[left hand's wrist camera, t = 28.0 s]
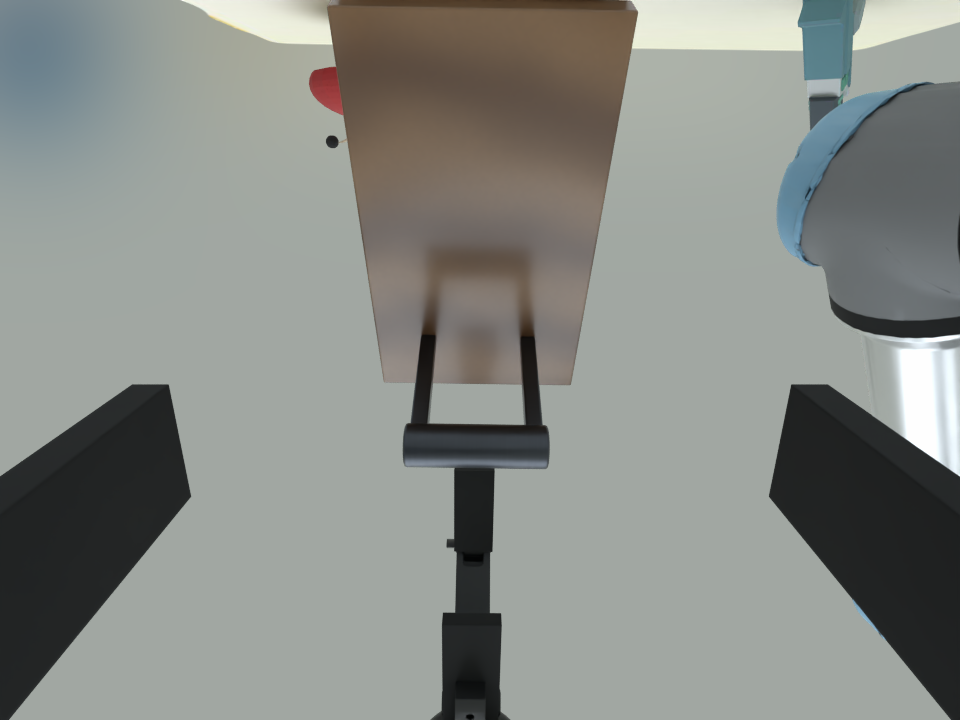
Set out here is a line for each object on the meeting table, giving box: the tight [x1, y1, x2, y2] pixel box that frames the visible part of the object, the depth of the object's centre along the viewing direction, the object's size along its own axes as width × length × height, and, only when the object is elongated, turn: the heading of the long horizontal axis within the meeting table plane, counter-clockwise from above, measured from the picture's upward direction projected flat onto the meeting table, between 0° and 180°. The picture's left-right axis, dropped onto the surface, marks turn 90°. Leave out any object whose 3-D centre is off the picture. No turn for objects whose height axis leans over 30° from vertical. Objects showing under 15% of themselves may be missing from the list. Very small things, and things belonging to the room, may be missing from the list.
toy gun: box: [798, 0, 865, 131], centre depth 56 cm, size 4×19×10 cm
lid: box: [327, 0, 638, 469], centre depth 22 cm, size 17×10×8 cm
